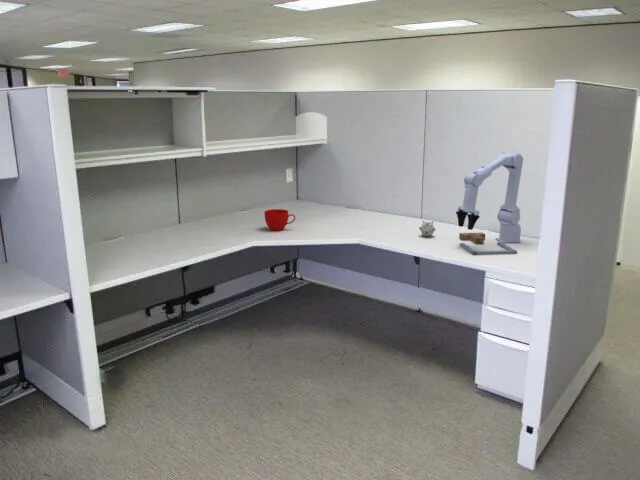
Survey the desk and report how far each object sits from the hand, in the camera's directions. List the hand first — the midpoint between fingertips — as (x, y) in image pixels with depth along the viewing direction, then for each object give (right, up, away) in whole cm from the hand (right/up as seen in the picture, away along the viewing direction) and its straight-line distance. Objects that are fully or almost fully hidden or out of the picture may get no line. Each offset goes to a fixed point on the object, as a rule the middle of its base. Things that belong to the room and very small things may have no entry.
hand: (465, 227), depth 255 cm
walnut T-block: (+9, -6, +16) cm, 20 cm away
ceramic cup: (-90, 0, +40) cm, 99 cm away
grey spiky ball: (-13, -4, +26) cm, 29 cm away
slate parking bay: (+11, -10, +1) cm, 15 cm away
